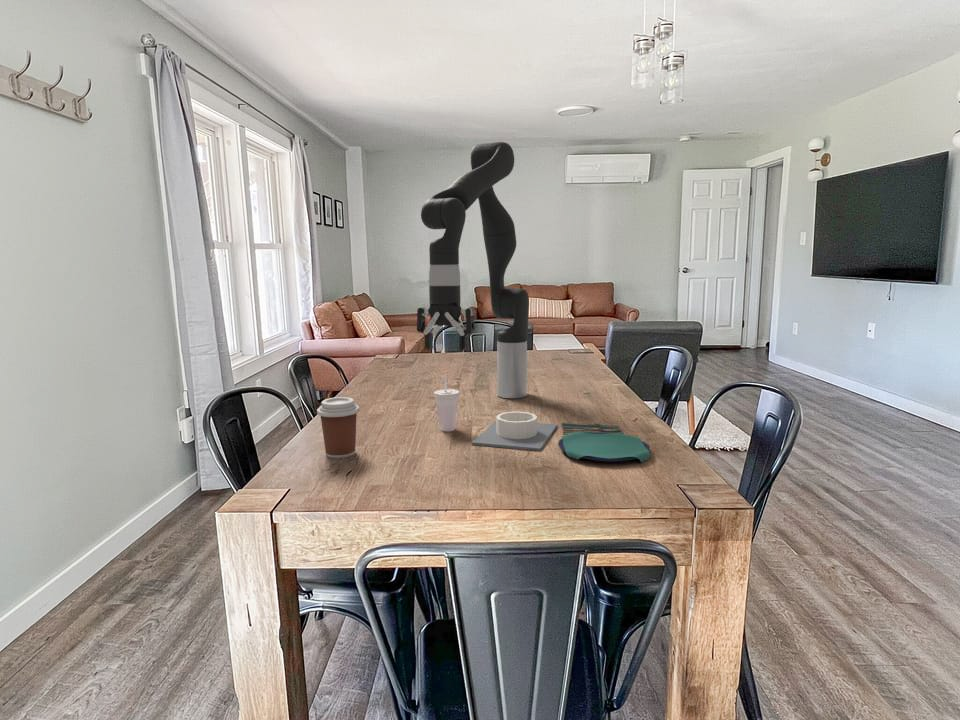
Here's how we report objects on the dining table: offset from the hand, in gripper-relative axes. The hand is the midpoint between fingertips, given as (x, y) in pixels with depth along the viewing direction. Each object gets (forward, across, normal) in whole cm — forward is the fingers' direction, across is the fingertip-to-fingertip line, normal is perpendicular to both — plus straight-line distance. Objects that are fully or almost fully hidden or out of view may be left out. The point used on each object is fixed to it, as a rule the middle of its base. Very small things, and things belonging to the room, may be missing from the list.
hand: (445, 350), depth 143 cm
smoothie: (+20, 0, 0) cm, 20 cm away
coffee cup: (+20, +16, +24) cm, 35 cm away
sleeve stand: (+20, -18, 0) cm, 27 cm away
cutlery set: (+21, -38, +1) cm, 43 cm away
